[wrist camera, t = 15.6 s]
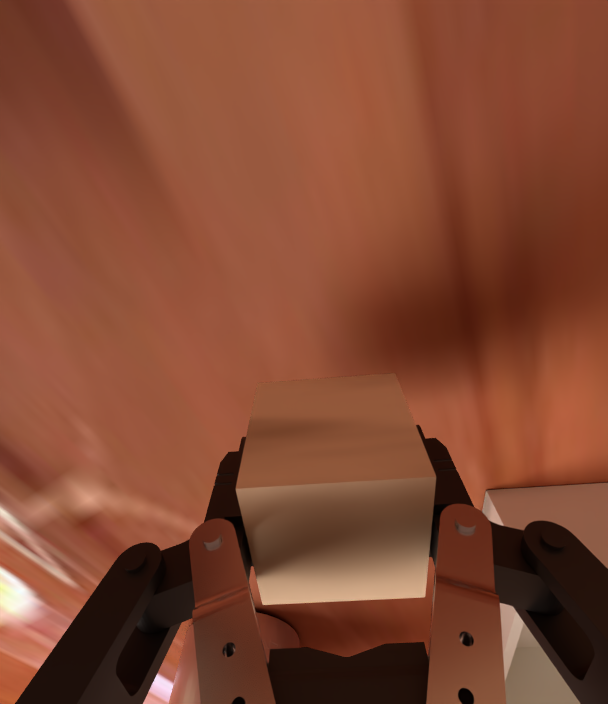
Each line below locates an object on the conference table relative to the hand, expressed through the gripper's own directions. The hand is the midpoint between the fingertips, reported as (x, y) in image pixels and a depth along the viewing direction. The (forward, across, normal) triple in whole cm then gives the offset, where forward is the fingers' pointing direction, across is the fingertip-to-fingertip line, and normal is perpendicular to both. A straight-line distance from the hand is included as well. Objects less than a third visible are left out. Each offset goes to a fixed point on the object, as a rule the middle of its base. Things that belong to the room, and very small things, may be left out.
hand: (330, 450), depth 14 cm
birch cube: (+1, 0, 0) cm, 1 cm away
